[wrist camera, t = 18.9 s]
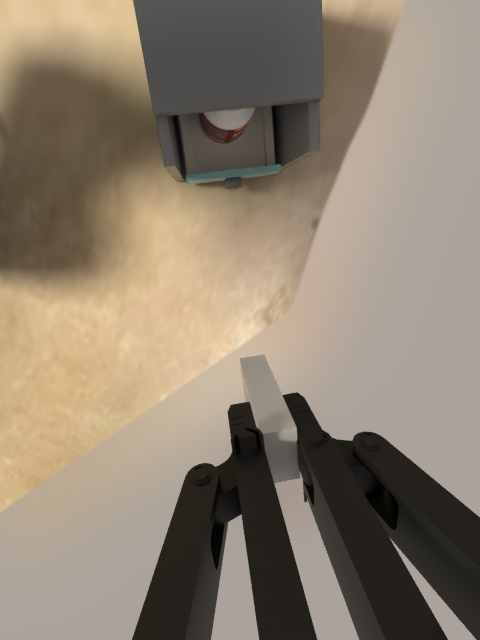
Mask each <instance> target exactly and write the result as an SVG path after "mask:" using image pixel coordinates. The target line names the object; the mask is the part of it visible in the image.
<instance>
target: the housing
mask: <svg viewBox="0 0 480 640" xmlns="http://www.w3.org/2000/svg"><path fill="white" fill-rule="evenodd" d="M133 2H134V7H135V13H136V18H137V24H138V29H139V35H140V40H141V46H142V51H143V57H144V62H145V68H146V73H147V79H148V84H149V90H150V95H151V101H152V106H153V112H154V115H155V117H156V123H157V128H158V134H159V139H160V145H161V150H162V156H163V161H164V167H165V168H166V169H167V170H168V172H169V173H170V174H171V175H172V176H173V177H174V178H175V180H176V181H186V168H185V162H184V156H183V149H182V143H181V137H180V131H179V124H178V118H177V115H182V114H192V113H203V112H213V111H223V110H233V109H243V108H253V107H263V106H271V108H272V124H273V139H274V154H275V165H277V164H281V170H282V169H284V168H286V167H288V166H290V165H292V164H294V163H296V162H297V161H299V160H301V159H303V158H305V157H307V156H309V155H311V154H313V153H315V152H317V151H319V150H320V124H319V101H320V100H321V99H322V98H323V55H322V0H133Z"/></svg>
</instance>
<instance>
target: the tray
mask: <svg viewBox="0 0 480 640" xmlns="http://www.w3.org/2000/svg"><path fill="white" fill-rule="evenodd" d="M177 118H178V124H179V131H180V137H181V143H182V149H183V156H184V162H185V168H186V180H187V183H188V185H190V184H199V183H207V182H216V181H225V180H226V187H227V189H232V188H240V187H242V185H241V179H242V178H251V177H260V176H268V175H275V174H276V173H278V172H280V171H281V164H277V165H275V154H274V139H273V124H272V108H271V106H263V107H255V110H254V113H253V115H252V117H251V119H250V120H249V122H248V124H247V126H246V128H245V130H244V132H243V133H242V135H241V136H240V137H239V138H238V139H237V140H235V141H234V142H232V143H228V144H220V143H216V142H214V141H212V140H211V139H210V138H208V137H207V136H206V134H205V133H204V131H203V130H202V128H201V125H200V121H199V113H192V114H182V115H177Z"/></svg>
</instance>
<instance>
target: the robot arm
mask: <svg viewBox="0 0 480 640" xmlns="http://www.w3.org/2000/svg"><path fill="white" fill-rule="evenodd" d="M240 363H241V372H242V379H243V386H244V394H245V399H246V402H245V403H239V404H234V405H231V406H230V408H229V410H228V418H229V425H230V433H231V444H232V454H231V456H230V457H229V459H228V460H227V461H226V462H224V463H223V464H221V465H219V466H217V467H215V466H213V465H212V464H207V463H203V464H199V465H196V466H194V467H193V468H192V469H191V470H190V471H189V472H188V473H187V475H186V477H185V480H184V483H183V486H182V489H181V492H180V495H179V498H178V501H177V504H176V507H175V510H174V513H173V516H172V519H171V523H170V526H169V528H168V531H167V535H166V538H165V541H164V544H163V547H162V550H161V553H160V556H159V559H158V562H157V565H156V568H155V571H154V574H153V577H152V581H151V583H150V586H149V590H148V593H147V596H146V599H145V602H144V605H143V608H142V611H141V614H140V617H139V620H138V623H137V626H136V629H135V632H134V635H133V638H132V640H211V635H212V628H213V621H214V614H215V607H216V601H217V594H218V587H219V581H220V574H221V566H222V560H223V554H224V547H225V540H226V533H227V527H228V522H229V521H230V520H232V519H234V518H236V517H237V516H239V515H241V514H242V520H243V527H244V534H245V542H246V549H247V556H248V563H249V570H250V577H251V584H252V591H253V599H254V605H255V613H256V620H257V626H258V634H259V640H317V637H316V633H315V630H314V626H313V623H312V619H311V616H310V612H309V608H308V605H307V601H306V597H305V594H304V590H303V586H302V583H301V580H300V576H299V572H298V568H297V565H296V561H295V557H294V554H293V550H292V547H291V543H290V539H289V535H288V532H287V528H286V525H285V521H284V517H283V514H282V510H281V507H280V503H279V499H278V496H277V492H276V488H275V485H274V483H277V482H282V481H287V480H292V479H297V478H300V474H299V473H300V472H301V475H302V477H303V490H304V501H305V502H307V499H308V501H309V504H310V507H311V510H312V512H313V515H314V518H315V521H316V523H317V526H318V529H319V531H320V534H321V537H322V540H323V542H324V545H325V547H326V550H327V553H328V556H329V558H330V561H331V564H332V566H333V569H334V572H335V574H336V577H337V580H338V583H339V586H340V588H341V591H342V594H343V596H344V599H345V601H346V604H347V607H348V610H349V613H350V615H351V618H352V621H353V623H354V626H355V629H356V632H357V634H358V637H359V640H448V639H447V637H446V636H445V634H444V632H443V630H442V628H441V627H440V625H439V623H438V622H437V620H436V618H435V616H434V615H433V613H432V611H431V609H430V608H429V606H428V604H427V603H426V601H425V599H424V597H423V595H422V594H421V592H420V590H419V588H418V587H417V585H416V583H415V581H414V580H413V578H412V576H411V575H410V573H409V571H408V570H407V568H406V566H405V564H404V563H403V561H402V559H401V557H400V555H399V554H398V552H397V550H396V548H395V547H394V545H393V543H392V541H393V542H394V543H395V544H396V545H397V546H398V548H399V549H400V550H401V551H402V552H403V554H404V555H405V556H406V557H407V558H408V559H409V561H410V562H411V563H412V564H413V565H414V566H415V567H416V569H417V570H418V571H419V572H420V574H421V575H422V576H423V577H424V578H425V579H426V580H427V582H428V583H429V584H430V585H431V587H432V588H433V589H434V590H435V591H436V592H437V594H438V595H439V596H440V597H441V598H442V599H443V600H444V602H445V603H446V604H447V605H448V607H449V608H450V609H451V610H452V611H453V612H454V614H455V615H456V616H457V617H458V618H459V620H460V621H461V622H462V623H463V624H464V625H465V627H466V628H467V629H468V630H469V631H470V632H471V634H472V635H473V636H474V637H475V638H476V639H477V640H480V517H479V516H477V515H476V514H475V513H474V512H472V511H471V510H470V509H469V508H468V507H466V506H465V505H464V504H463V503H462V502H460V501H459V500H458V499H457V498H456V497H454V496H453V495H452V494H451V493H450V492H448V491H447V490H446V489H445V488H443V487H442V486H441V485H440V484H439V483H437V482H436V481H435V480H434V479H433V478H431V477H430V476H429V475H428V474H426V473H425V472H424V471H423V470H422V469H421V468H419V467H418V466H417V465H416V464H414V463H413V462H412V461H411V460H410V459H409V458H407V457H406V456H405V455H404V454H402V453H401V452H400V451H399V450H398V449H396V448H395V447H394V446H393V445H392V444H390V443H389V442H388V441H387V440H386V439H384V438H383V437H382V436H380V435H378V434H376V433H372V432H361V433H358V434H356V435H355V436H354V438H353V441H347V440H337V439H334V438H332V437H331V436H330V435H329V434H328V433H327V432H325V431H323V430H322V429H321V427H320V425H319V423H318V421H317V420H316V418H315V416H314V414H313V412H312V411H311V409H310V407H309V405H308V403H307V402H306V400H305V398H304V397H303V396H301V395H300V394H299V393H291V394H286V395H282V394H281V391H280V389H279V387H278V385H277V382H276V380H275V378H274V376H273V373H272V371H271V369H270V367H269V364H268V362H267V360H266V358H265V355H258V356H253V357H246V358H240ZM299 470H300V471H299ZM389 537H390V538H391V539H392V541H391V540H390V538H389Z"/></svg>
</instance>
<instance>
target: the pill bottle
mask: <svg viewBox="0 0 480 640" xmlns="http://www.w3.org/2000/svg"><path fill="white" fill-rule="evenodd" d="M254 110H255V107H253V108H243V109H233V110H223V111H213V112H203V113H199V121H200V125H201V128H202V130H203V131H204V133H205V134H206V136H207V137H208V138H210V139H211V140H212V141H214V142H216V143H220V144H228V143H232V142H234V141H235V140H237V139H238V138H239V137H240V136H241V135H242V133H243V132H244V130H245V128H246V126H247V124H248V122H249V120H250V119H251V117H252V115H253V113H254Z"/></svg>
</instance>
